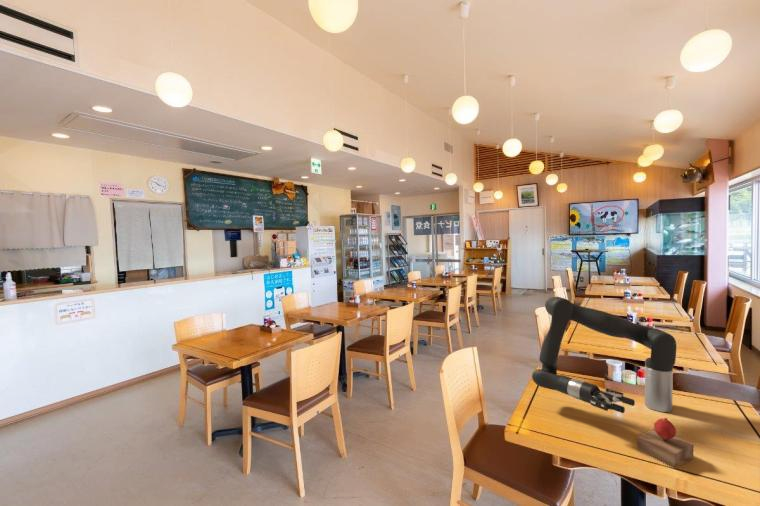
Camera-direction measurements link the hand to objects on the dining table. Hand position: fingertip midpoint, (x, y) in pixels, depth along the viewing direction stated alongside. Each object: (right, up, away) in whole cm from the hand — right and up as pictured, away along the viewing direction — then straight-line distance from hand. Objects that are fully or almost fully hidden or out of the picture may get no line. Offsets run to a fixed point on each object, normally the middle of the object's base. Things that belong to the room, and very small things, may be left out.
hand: (629, 406), depth 128 cm
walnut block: (+6, -13, -8) cm, 16 cm away
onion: (+6, -8, -8) cm, 13 cm away
